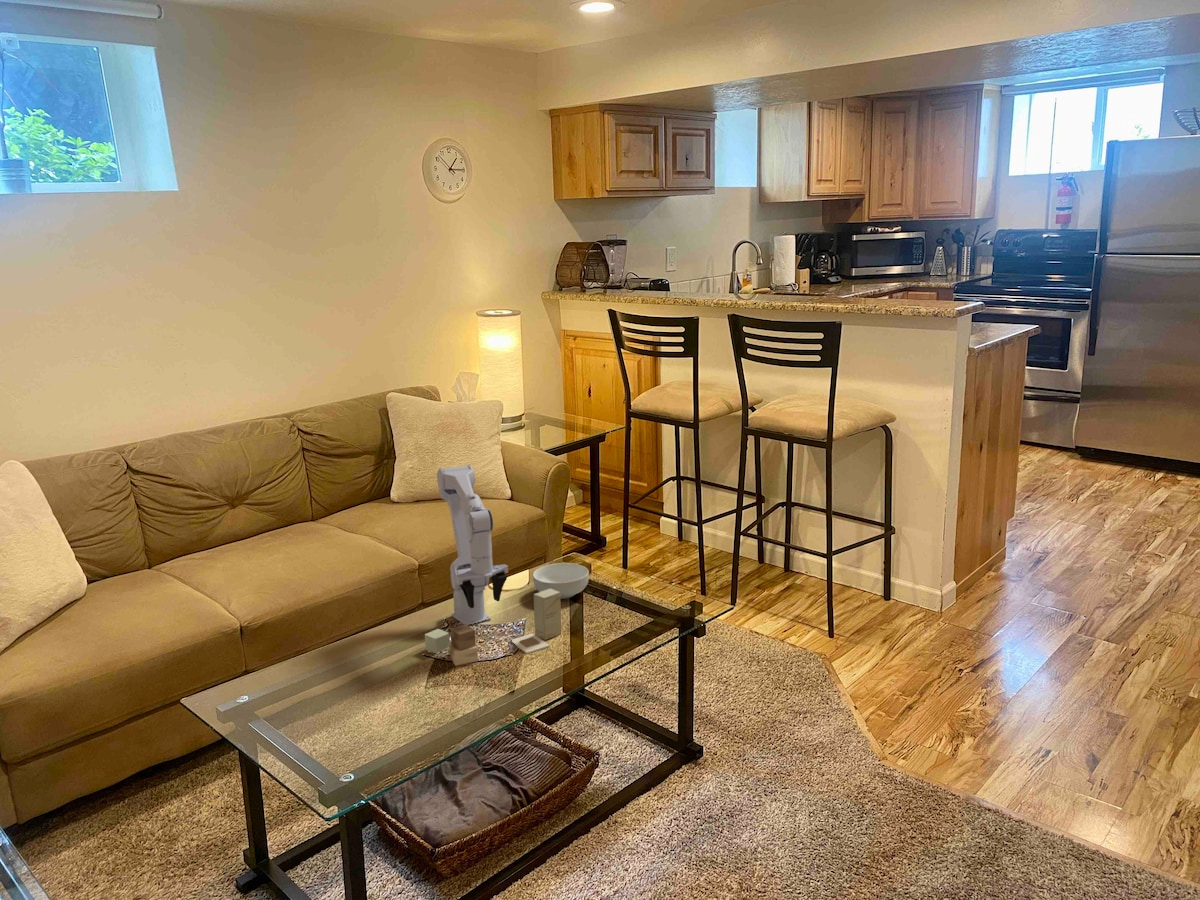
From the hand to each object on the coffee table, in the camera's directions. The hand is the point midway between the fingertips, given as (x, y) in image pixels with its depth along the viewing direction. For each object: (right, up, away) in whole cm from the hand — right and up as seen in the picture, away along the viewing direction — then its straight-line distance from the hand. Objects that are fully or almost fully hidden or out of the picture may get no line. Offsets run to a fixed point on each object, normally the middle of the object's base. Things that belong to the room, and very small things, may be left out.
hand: (483, 603), depth 237 cm
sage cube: (-12, -12, -3) cm, 17 cm away
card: (+12, -11, -1) cm, 16 cm away
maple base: (-4, -13, -8) cm, 16 cm away
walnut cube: (-4, -9, -9) cm, 14 cm away
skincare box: (+17, -9, +5) cm, 20 cm away
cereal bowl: (+19, -3, +32) cm, 38 cm away
